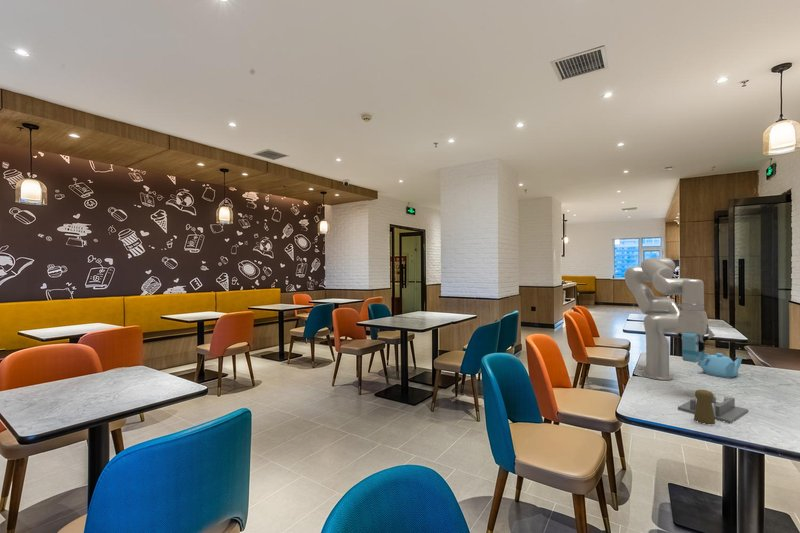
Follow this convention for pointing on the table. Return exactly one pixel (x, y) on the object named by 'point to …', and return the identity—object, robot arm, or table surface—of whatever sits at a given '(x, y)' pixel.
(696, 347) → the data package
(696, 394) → the cork
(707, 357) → the teapot
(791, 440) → the table surface
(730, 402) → the tray
